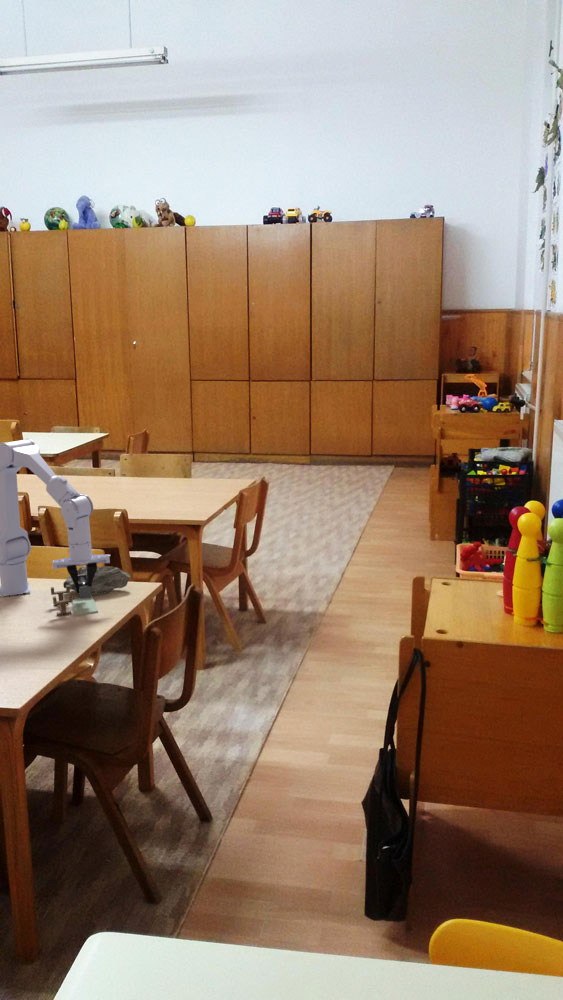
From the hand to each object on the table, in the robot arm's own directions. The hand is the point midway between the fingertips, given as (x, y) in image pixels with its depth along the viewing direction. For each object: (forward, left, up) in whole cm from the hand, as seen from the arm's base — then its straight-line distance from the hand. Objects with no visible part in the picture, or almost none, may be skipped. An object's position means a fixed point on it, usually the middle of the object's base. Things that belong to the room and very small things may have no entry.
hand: (83, 591), depth 213 cm
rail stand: (0, -6, -4) cm, 7 cm away
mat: (0, 0, -4) cm, 4 cm away
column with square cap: (0, 0, 0) cm, 0 cm away
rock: (-13, +5, -4) cm, 14 cm away
